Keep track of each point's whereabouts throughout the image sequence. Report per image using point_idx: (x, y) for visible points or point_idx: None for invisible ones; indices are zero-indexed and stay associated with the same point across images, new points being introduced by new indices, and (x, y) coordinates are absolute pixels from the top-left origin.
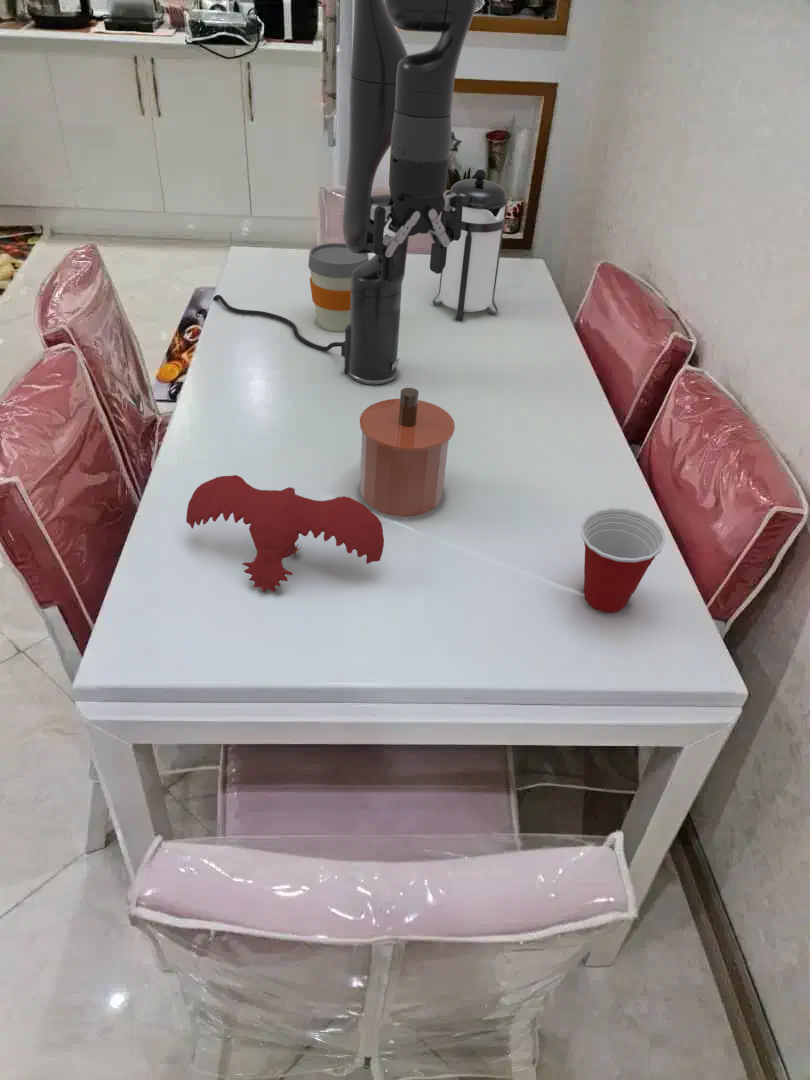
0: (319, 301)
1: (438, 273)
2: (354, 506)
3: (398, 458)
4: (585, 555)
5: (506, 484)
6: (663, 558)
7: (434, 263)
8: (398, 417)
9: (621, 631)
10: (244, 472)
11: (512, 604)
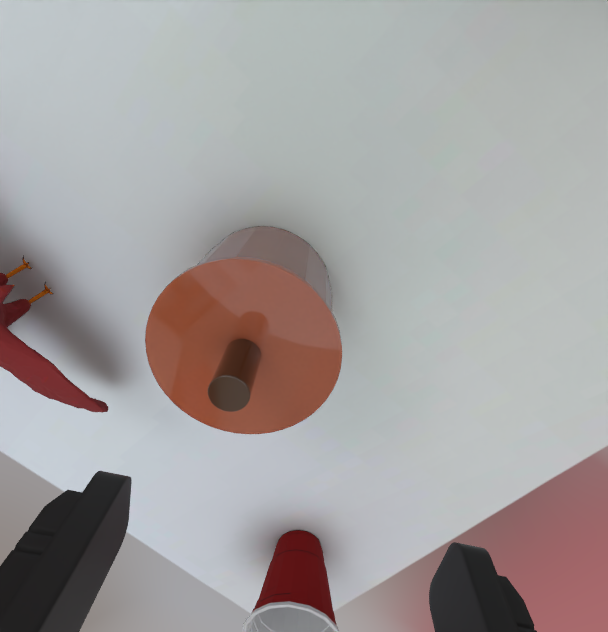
0: None
1: (433, 591)
2: (65, 390)
3: None
4: (272, 581)
5: (407, 376)
6: (406, 556)
7: (456, 610)
8: (241, 331)
9: None
10: (79, 45)
11: (216, 496)
